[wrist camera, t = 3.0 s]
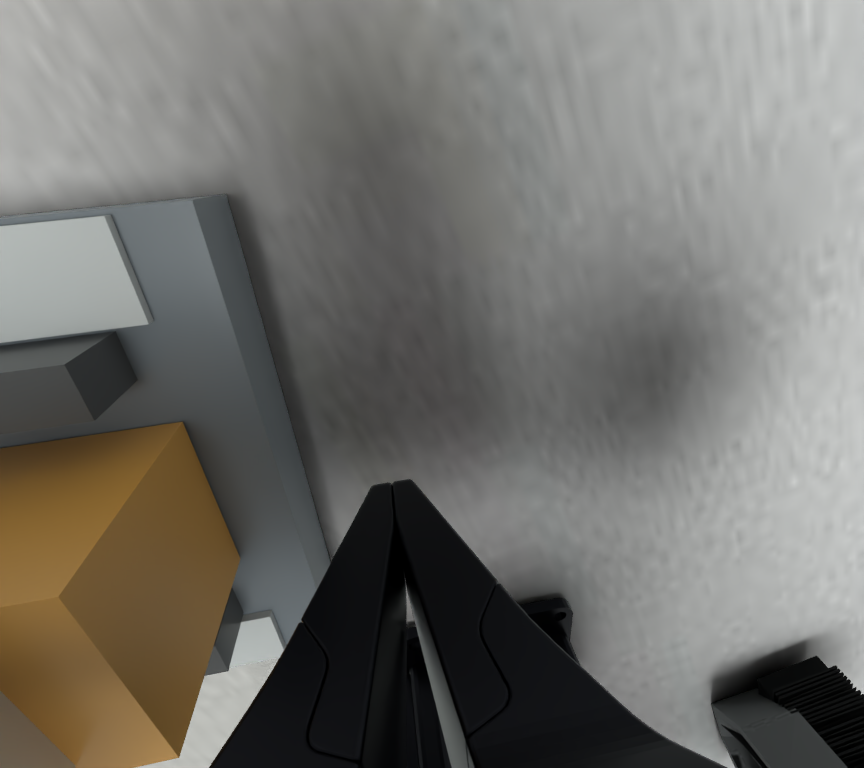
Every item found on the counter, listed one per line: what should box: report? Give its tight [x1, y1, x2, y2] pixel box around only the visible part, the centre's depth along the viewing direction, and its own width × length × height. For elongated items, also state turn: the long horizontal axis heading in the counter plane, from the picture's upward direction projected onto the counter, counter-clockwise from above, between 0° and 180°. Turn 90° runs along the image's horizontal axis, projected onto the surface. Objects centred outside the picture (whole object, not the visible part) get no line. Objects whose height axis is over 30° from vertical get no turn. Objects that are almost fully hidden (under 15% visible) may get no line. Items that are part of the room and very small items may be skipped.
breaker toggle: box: [0, 422, 240, 768], centre depth 7 cm, size 4×4×5 cm
